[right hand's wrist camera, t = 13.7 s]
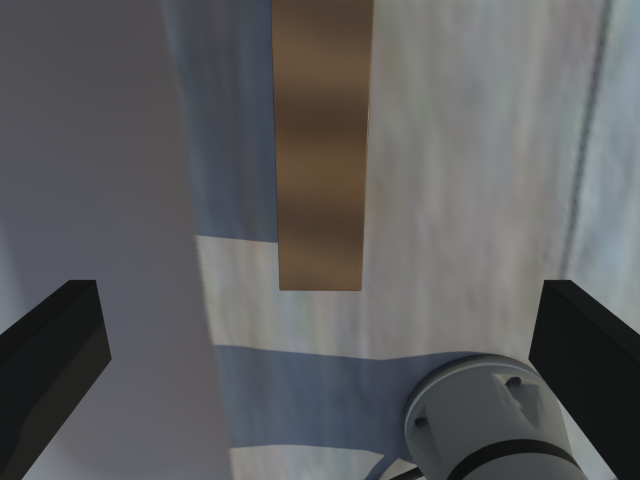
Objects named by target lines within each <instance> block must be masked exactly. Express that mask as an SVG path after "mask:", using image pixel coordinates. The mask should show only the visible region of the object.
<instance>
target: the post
mask: <svg viewBox="0 0 640 480" xmlns="http://www.w3.org/2000/svg"><path fill="white" fill-rule="evenodd" d="M373 12H374V0H271V32H272V64H273V96H274V128H275V160H276V192H277V224H278V256H279V288H280V290H302V291H361V289H362V265H363V242H364V219H365V196H366V173H367V150H368V127H369V104H370V81H371V58H372V35H373Z"/></svg>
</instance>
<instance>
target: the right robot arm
mask: <svg viewBox="0 0 640 480" xmlns="http://www.w3.org/2000/svg"><path fill="white" fill-rule="evenodd" d="M111 359H112V358H111V353H110V348H109V343H108V339H107V334H106V329H105V324H104V319H103V314H102V309H101V304H100V299H99V294H98V289H97V284H96V280H69V281H68V282H66V283H65V284H64V285H63V286H61V287H60V288H59V289H57V290H56V291H55V292H54V293H52V294H51V295H50V296H49V297H47V298H46V299H45V300H44V301H42V302H41V303H40V304H39V305H37V306H36V307H35V308H34V309H32V310H31V311H30V312H28V313H27V314H26V315H25V316H23V317H22V318H21V319H20V320H18V321H17V322H16V323H15V324H13V325H12V326H11V327H10V328H8V329H7V330H6V331H5V332H3V333H2V334H1V335H0V480H22V478H23V477H24V476H25V474H26V473H27V471H28V470H29V469H30V467H31V466H32V465H33V463H34V462H35V461H36V459H37V458H38V457H39V455H40V454H41V453H42V451H43V450H44V449H45V447H46V446H47V445H48V443H49V442H50V441H51V439H52V438H53V437H54V435H55V434H56V433H57V431H58V430H59V429H60V427H61V426H62V425H63V423H64V422H65V421H66V419H67V418H68V417H69V415H70V414H71V413H72V411H73V410H74V409H75V407H76V406H77V405H78V403H79V402H80V401H81V399H82V398H83V397H84V395H85V394H86V393H87V391H88V390H89V389H90V387H91V386H92V385H93V383H94V382H95V381H96V379H97V378H98V377H99V375H100V374H101V373H102V371H103V370H104V369H105V367H106V366H107V365H108V363H109V362H110V361H111ZM528 359H529V361H530V362H531V363H532V365H533V366H534V367H535V369H536V370H537V371H538V373H539V374H540V375H541V376H540V375H539V374H538V373H537V372H536V371H534V370H533V369H532V368H530V367H529V366H527V365H526V364H524V363H522V362H519V361H517V360H514V359H511V358H507V357H502V356H493V355H481V356H472V357H467V358H462V359H459V360H456V361H453V362H450V363H448V364H446V365H444V366H442V367H440V368H438V369H436V370H435V371H433V372H432V373H430V374H429V375H428V376H427V377H425V378H424V379H423V380H422V381H421V382H420V383H419V384H418V385H417V386H416V388H415V389H414V390H413V392H412V393H411V395H410V396H409V398H408V401H407V403H406V405H405V408H404V413H403V431H404V435H405V440H406V444H407V447H408V450H409V452H410V454H411V456H412V458H413V460H414V462H415V463H416V465H417V466H418V467H416V468H414V469H412V470H409V471H407V472H405V473H403V474H400V475H398V476H396V477H394V478H392V479H389V480H416V479H418V478H420V477H422V476H425V478H426V479H427V480H588V479H587V477H586V476H585V475H584V473H583V472H582V470H581V469H580V467H579V466H578V464H577V463H576V461H575V460H574V458H573V455H572V451H571V448H570V444H569V440H568V436H567V432H566V428H565V424H564V421H563V417H562V413H561V409H560V407H559V404H558V402H557V399H556V397H557V398H558V399H559V401H560V402H561V403H562V405H563V406H564V407H565V409H566V410H567V411H568V413H569V414H570V415H571V417H572V418H573V419H574V421H575V422H576V423H577V425H578V426H579V427H580V429H581V430H582V431H583V433H584V434H585V435H586V437H587V438H588V439H589V441H590V442H591V443H592V445H593V446H594V447H595V449H596V450H597V451H598V453H599V454H600V455H601V457H602V458H603V459H604V461H605V462H606V463H607V465H608V466H609V467H610V469H611V470H612V472H613V473H614V474H615V476H616V477H617V478H618V480H640V335H639V334H638V333H637V332H635V331H634V330H633V329H632V328H630V327H629V326H628V325H627V324H625V323H624V322H623V321H622V320H620V319H619V318H618V317H617V316H615V315H614V314H613V313H612V312H610V311H609V310H608V309H607V308H605V307H604V306H603V305H601V304H600V303H599V302H598V301H596V300H595V299H594V298H593V297H591V296H590V295H589V294H588V293H586V292H585V291H584V290H583V289H581V288H580V287H579V286H578V285H576V284H575V283H574V282H572V281H571V280H544V284H543V289H542V294H541V299H540V304H539V309H538V314H537V319H536V324H535V329H534V334H533V339H532V343H531V348H530V353H529V358H528ZM542 378H543V379H544V380H543V379H542ZM545 382H546V383H547V384H546V383H545ZM548 386H549V387H550V388H549V387H548ZM551 390H552V391H553V392H552V391H551ZM553 393H554V394H555V395H556V397H555V395H554V394H553Z"/></svg>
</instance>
